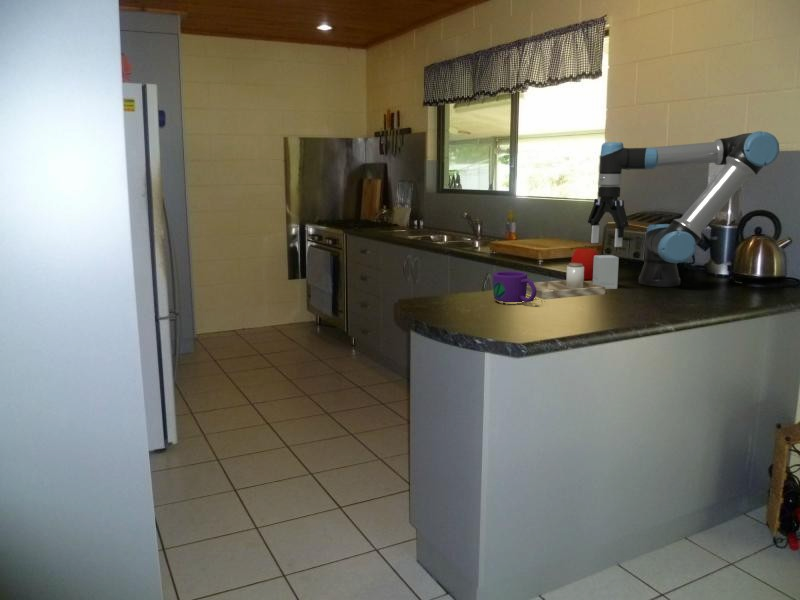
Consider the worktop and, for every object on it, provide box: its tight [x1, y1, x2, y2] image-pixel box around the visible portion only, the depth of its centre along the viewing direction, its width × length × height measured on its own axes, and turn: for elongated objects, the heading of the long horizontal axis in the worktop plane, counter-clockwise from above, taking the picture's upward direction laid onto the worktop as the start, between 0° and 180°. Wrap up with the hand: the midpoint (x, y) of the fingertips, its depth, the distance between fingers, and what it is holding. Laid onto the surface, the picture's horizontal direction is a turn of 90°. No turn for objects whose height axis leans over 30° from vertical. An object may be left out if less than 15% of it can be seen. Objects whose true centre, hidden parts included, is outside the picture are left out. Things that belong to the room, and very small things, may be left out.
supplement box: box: [592, 254, 620, 290], centre depth 239 cm, size 7×7×13 cm
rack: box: [526, 279, 606, 301], centre depth 231 cm, size 25×18×4 cm
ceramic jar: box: [565, 262, 585, 289], centre depth 232 cm, size 6×6×10 cm
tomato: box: [570, 245, 600, 281], centre depth 258 cm, size 13×11×14 cm
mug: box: [492, 270, 537, 303], centre depth 217 cm, size 17×11×10 cm, turn 36°
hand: (606, 244), depth 237 cm, fingers open, 13 cm apart
